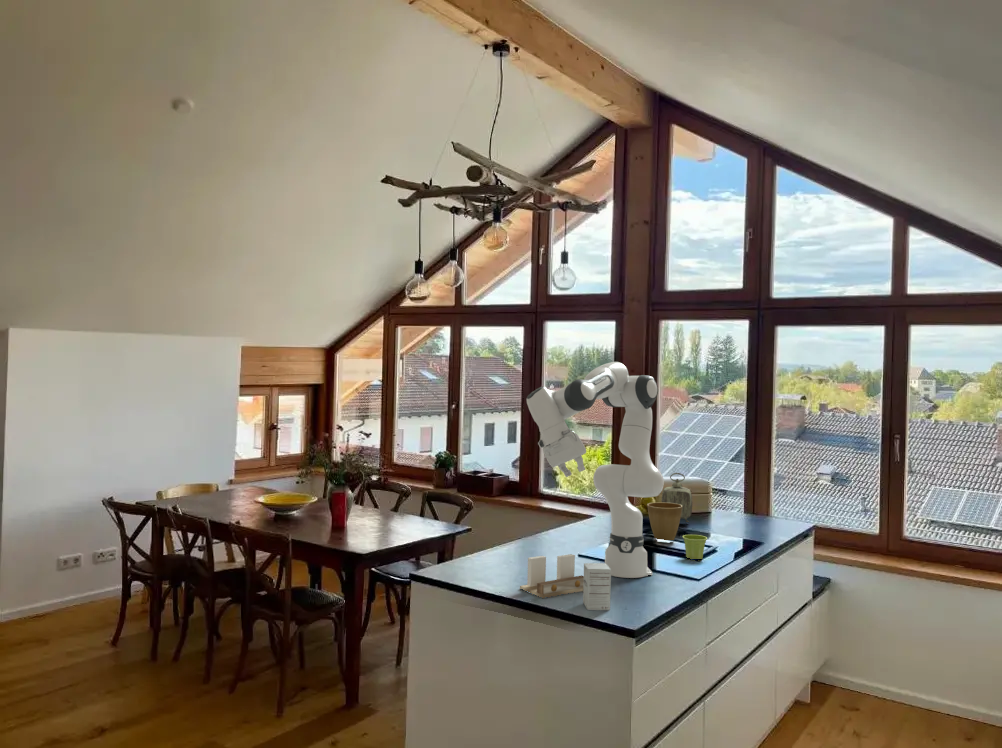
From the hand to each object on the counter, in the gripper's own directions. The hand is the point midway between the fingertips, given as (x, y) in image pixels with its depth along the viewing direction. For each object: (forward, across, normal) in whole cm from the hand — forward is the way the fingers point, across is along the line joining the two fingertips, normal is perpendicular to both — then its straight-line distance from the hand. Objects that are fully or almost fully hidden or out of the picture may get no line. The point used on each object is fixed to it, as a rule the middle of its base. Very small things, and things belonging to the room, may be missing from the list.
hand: (575, 473), depth 255 cm
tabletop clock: (+50, +103, -95) cm, 149 cm away
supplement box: (+39, -1, +15) cm, 42 cm away
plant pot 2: (+54, +42, -54) cm, 87 cm away
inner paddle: (+32, +20, +11) cm, 39 cm away
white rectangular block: (+27, +21, +20) cm, 40 cm away
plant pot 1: (+48, +72, -64) cm, 108 cm away
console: (+31, +20, +16) cm, 40 cm away
